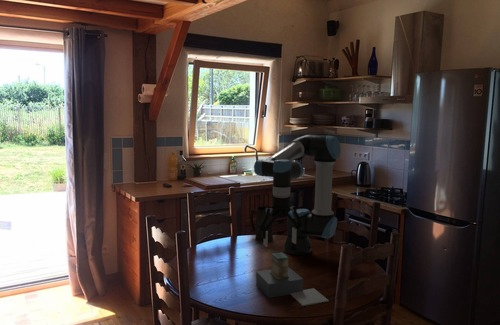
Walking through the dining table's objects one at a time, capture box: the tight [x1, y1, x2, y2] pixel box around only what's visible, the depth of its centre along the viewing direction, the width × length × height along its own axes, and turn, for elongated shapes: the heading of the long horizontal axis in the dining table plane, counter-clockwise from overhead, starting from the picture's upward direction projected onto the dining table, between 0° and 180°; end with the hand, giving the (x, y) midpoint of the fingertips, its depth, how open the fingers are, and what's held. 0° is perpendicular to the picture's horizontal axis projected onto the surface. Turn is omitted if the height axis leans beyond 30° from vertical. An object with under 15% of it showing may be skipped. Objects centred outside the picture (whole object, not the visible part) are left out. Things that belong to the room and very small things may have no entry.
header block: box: [255, 266, 304, 299], centre depth 179 cm, size 16×14×6 cm
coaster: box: [290, 287, 329, 307], centre depth 171 cm, size 12×12×1 cm
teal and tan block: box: [270, 252, 289, 280], centre depth 179 cm, size 5×6×15 cm
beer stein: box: [248, 205, 274, 243], centre depth 245 cm, size 15×11×20 cm
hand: (279, 244), depth 177 cm, fingers open, 13 cm apart
